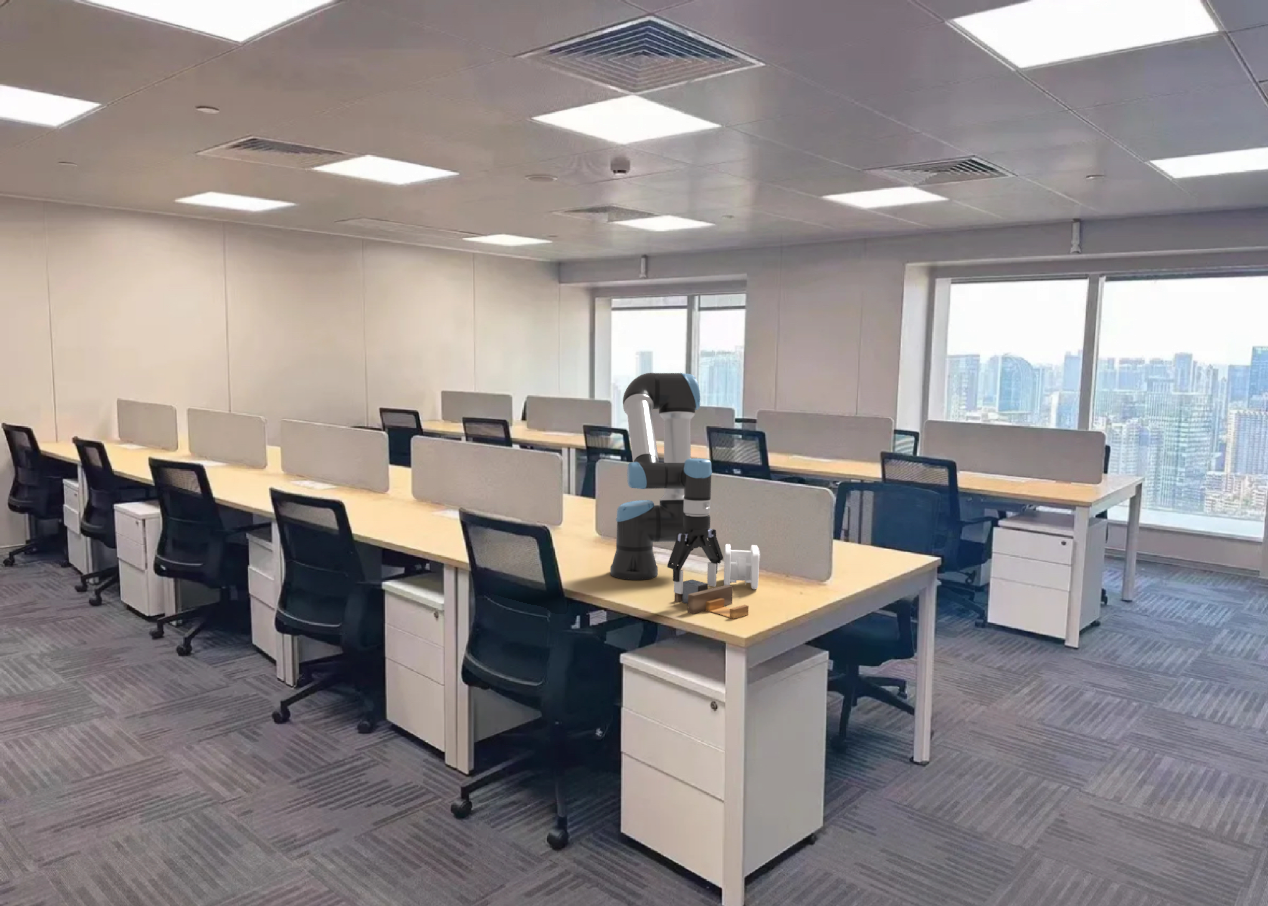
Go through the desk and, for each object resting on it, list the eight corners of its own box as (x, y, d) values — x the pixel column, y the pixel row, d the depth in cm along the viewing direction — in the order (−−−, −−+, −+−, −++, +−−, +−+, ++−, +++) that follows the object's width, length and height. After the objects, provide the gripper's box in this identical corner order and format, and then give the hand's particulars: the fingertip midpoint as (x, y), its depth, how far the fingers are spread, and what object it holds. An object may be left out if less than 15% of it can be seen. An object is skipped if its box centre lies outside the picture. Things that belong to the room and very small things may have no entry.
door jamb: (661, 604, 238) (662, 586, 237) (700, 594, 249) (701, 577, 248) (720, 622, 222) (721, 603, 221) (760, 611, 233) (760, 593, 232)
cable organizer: (723, 578, 269) (724, 542, 268) (757, 579, 268) (758, 543, 266) (723, 590, 254) (724, 552, 253) (759, 592, 253) (760, 553, 252)
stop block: (681, 602, 240) (682, 581, 240) (691, 599, 243) (692, 579, 243) (697, 607, 236) (698, 585, 235) (707, 604, 239) (707, 583, 238)
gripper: (674, 520, 226) (673, 598, 228) (736, 511, 243) (734, 585, 244) (655, 516, 231) (653, 593, 233) (716, 508, 248) (715, 580, 250)
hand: (695, 589), depth 239 cm, fingers open, 13 cm apart
